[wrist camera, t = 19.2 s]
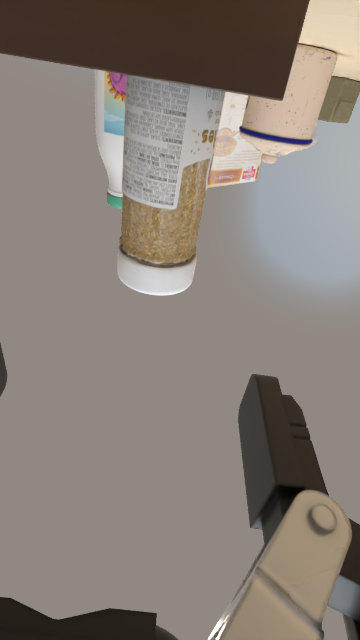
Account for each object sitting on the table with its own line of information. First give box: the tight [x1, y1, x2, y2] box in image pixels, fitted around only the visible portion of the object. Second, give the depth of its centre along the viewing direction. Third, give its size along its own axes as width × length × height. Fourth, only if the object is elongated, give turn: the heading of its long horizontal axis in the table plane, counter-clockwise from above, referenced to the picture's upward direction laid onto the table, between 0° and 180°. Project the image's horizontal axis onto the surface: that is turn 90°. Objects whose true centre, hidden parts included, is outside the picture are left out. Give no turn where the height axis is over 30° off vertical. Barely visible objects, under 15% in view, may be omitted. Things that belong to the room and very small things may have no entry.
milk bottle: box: [94, 69, 127, 209], centre depth 42 cm, size 8×8×20 cm
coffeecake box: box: [207, 92, 263, 188], centre depth 60 cm, size 15×7×20 cm, turn 45°
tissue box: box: [309, 76, 360, 147], centre depth 83 cm, size 19×10×16 cm, turn 137°
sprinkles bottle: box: [117, 75, 225, 295], centre depth 17 cm, size 5×5×14 cm
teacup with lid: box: [239, 44, 337, 164], centre depth 42 cm, size 12×9×12 cm
